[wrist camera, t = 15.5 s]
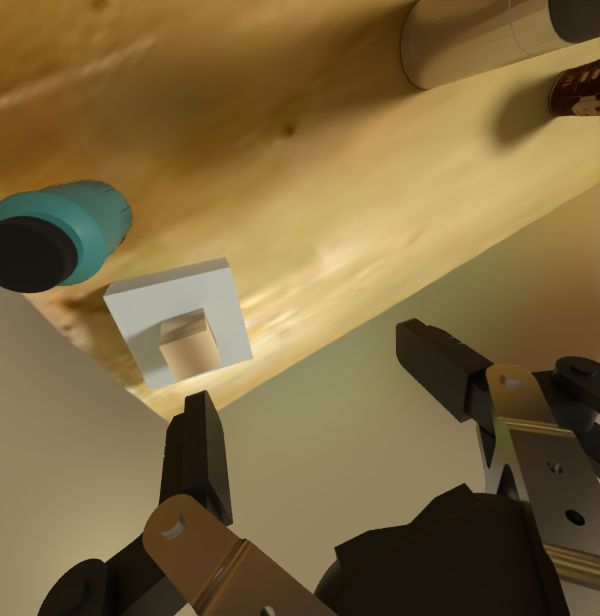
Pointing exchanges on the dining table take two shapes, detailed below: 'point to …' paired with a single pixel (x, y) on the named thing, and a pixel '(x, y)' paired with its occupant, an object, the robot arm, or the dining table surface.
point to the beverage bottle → (59, 234)
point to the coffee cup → (577, 91)
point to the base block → (175, 301)
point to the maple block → (189, 344)
